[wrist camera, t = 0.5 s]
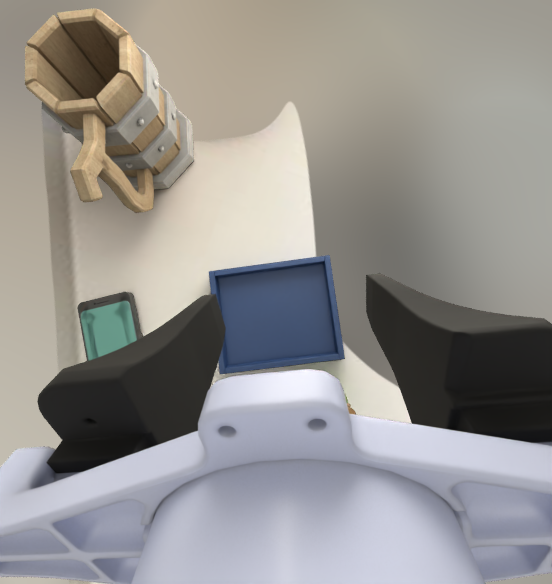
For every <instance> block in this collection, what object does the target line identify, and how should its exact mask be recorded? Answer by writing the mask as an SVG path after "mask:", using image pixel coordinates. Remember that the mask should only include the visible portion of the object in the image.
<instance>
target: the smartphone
mask: <svg viewBox="0 0 552 584" xmlns="http://www.w3.org/2000/svg"><path fill="white" fill-rule="evenodd" d="M78 313H79V318H80V324H81V329H82V335H83V340H84V346H85V351H86V357H87V361H89V360H92V359H95V358H98V357H101V356H103V355H106V354H108V353H111V352H113V351H115V350H118V349H120V348H122V347H124V346H126V345H128V344H130V343H132V342H134V341H136V340H138V339H140V338H142V335H141V331H140V325H139V320H138V315H137V310H136V306H135V301H134V296H133V294H132V293H129V292H122V293H118V294H114V295H110V296H106V297H102V298H98V299H94V300H90V301H86V302H82V303H80V304H79V305H78Z"/></svg>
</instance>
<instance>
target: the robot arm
mask: <svg viewBox="0 0 552 584" xmlns="http://www.w3.org/2000/svg"><path fill="white" fill-rule="evenodd" d="M366 305H367V306H366V309H367V310H366V312H367V316H368V319H369V321H370V324H371V328H372V330H373V332H374V334H375V336H376V338H377V340H378V342H379V344H380V346H381V348H382V350H383V352H384V354H385V356H386V357H387V359H388V361H389V363H390V365H391V367H392V370H393V372H394V374H395V377H396V379H397V382H398V385H399V388H400V390H401V393H402V396H403V399H404V401H405V404H406V407H407V410H408V413H409V416H410V419H411V422H412V424H411V423H405V422H398V421H392V420H386V419H380V418H373V417H367V416H361V415H355V414H350V413H349V411H348V406H347V402H346V398H345V393H344V390H343V388H342V386H341V383H340V381H339V379H337V378H336V377H334V376H332V375H331V374H329V373H327V372H326V371H320V370H310V369H303V370H293V371H282V372H272V373H261V374H251V375H240V376H231V377H228V378H225V379H222V380H219V381H216V382H215V383H214V384H213V386H212V387H211V388H210V386H211V382H212V379H213V376H214V373H215V370H216V367H217V364H218V360H219V357H220V354H221V351H222V347H223V343H224V337H225V330H226V327H225V324H224V321H223V317H222V314H221V310H220V307H219V304H218V300H217V297H216V294H211V295H204V296H202V297H200V298H199V299H197V300H196V301H195V302H193V303H192V304H191V305H189V306H188V307H187V308H185V309H184V310H183V311H182V312H180V313H179V314H178V315H176V316H175V317H173V318H172V319H171V320H169V321H168V322H166V323H165V324H164V325H162V326H161V327H159V328H158V329H156V330H154V331H153V332H151V333H149V334H148V335H146V336H144V337H142V338H140V339H138V340H136V341H134V342H132V343H130V344H128V345H126V346H124V347H122V348H120V349H118V350H115V351H113V352H111V353H108V354H106V355H103V356H101V357H98V358H95V359H92V360H89V361H86V362H83V363H80V364H77V365H74V366H71V367H68V368H64V369H63V370H62V371H61V372H60V373H59V374H58V375H57V376H56V377H55V378H54V379H53V380H52V381H51V382H50V383H49V384H48V385H47V386H46V387H45V388H44V389H43V390H42V392H41V393H40V394H39V397H38V405H39V410H40V412H41V413H42V415H43V417H44V418H45V419H46V420H47V422H48V423H49V424H50V425H51V427H52V428H53V429H54V430H55V431H56V432H57V434H58V435H59V436H60V438H61V439H62V442H61V444H60V445H59V446H58V447H57V449H56V450H55V449H54V448H51V447H45V446H43V447H31V448H19V449H16V450H15V451H14V452H13V453H12V454H11V455H10V457H9V458H8V459H7V460H6V462H4V464H3V465H2V466H1V467H0V577H41V578H59V579H69V580H80V581H89V582H98V583H107V584H486V583H485V582H492V581H499V580H506V579H512V578H520V577H526V576H534V575H540V574H548V573H552V324H551V323H550V322H548V321H547V320H545V319H542V318H533V317H523V316H512V315H504V314H498V313H491V312H486V311H480V310H475V309H471V308H467V307H463V306H458V305H455V304H451V303H448V302H445V301H442V300H439V299H435V298H433V297H430V296H428V295H425V294H423V293H420V292H418V291H416V290H414V289H411V288H409V287H407V286H405V285H403V284H401V283H399V282H397V281H395V280H393V279H391V278H389V277H387V276H385V275H383V274H380V273H378V274H371V275H366Z"/></svg>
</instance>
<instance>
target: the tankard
mask: <svg viewBox="0 0 552 584" xmlns="http://www.w3.org/2000/svg"><path fill="white" fill-rule="evenodd" d="M57 14H58V18H59V19H58V18H57V17H56V16H55V15H52V17H51V18H50V19H49V20H48V21H47V22H46V23H45V24H44V25H43V26H42V27H41V28H40V29H39V30H38V31H37V32H36V33H35V34H34V36H33V37H32V38H31V39H30V40H29V41H28V42H27V45H28V46H29V47H27V46H25V85H26V86H27V89H28V90H29V91H31V92H32V93H33V94H34V95H35V96H36V97H37V98H39V99H40V100H41V101H42V109H43V110H44V111H45V112H46V113H47V114H49V115H50V116H51V117H52V118H53V119H54V120H55V121H57V122H58V123H59V124H60V125H61V126H62V130H63V132H65V133H70V134H72V135H73V136H74V137H75V138H76V139H77V140H79V141H80V142H81V143H82V144H83V145H82V148H81V150H80V153H79V155H78V157H77V159H76V161H75V163H74V165H73V167H72V168H71V170H70V172H71V175H72V178H73V180H74V183H75V186H76V189H77V191H78V194H79V197H80V200H81V201H83V202H93V201H97V200H100V199H102V197H103V196H102V193H101V190H100V187H99V185H98V182H97V177H98V176H99V177H100V178H101V179H102V180H103V181H104V182H106V183H107V184H108V185H109V186H110V188H111V189H112V190H113V191H114V193H115V194H116V195H117V197H118V198H119V199H120V200H121V202H122V203H123V204H124V205H125V206H126V207H127V208H129V209H131V210H132V211H134V212H135V213H139V212H145V211H148V210H151V209H153V198H154V189H165V188H169V187H170V186H171V185H172V184H173V183H174V182H175V181H176V180H177V178H178V177H179V176H180V175H181V174H182V173H183V172H184V171H185V170H186V168H187V167H188V166H189V165H190V164H191V163H192V162H193V161H194V155H193V135H192V124H191V122H190V120H189V119H188V118H187V117H186V116H185V115H183V114H182V113H181V112H180V111H179V110H178V109H176V105H175V103H174V102H173V99H172V98H171V96H170V94H169V92H167V91H166V90H165V89H164V88H162V87H161V86H160V85H159V84H158V71H157V70H156V68H155V66H154V64H153V62H152V60H151V58H150V56H149V55H148V54H147V53H146V52H145V51H143V50H142V49H141V48H139V47H138V46H137V45H136V44H135V43H134V41H133V39H132V38H131V36H130V34H129V33H128V32H127V31H126V30H125V29H123V28H122V27H121V26H120V25H118V24H117V23H116V22H115V21H114V20H112V19H111V18H110V17H109V16H107V15H106V14H105V13H104V12H102V11H101V10H97V9H87V10H78V11H69V12H60V13H57ZM137 191H138V192H137Z"/></svg>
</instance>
